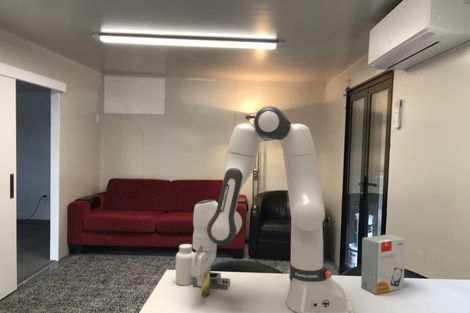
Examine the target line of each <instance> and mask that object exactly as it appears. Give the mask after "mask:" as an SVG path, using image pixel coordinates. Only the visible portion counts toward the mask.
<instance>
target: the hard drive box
mask: <svg viewBox="0 0 470 313" xmlns="http://www.w3.org/2000/svg"><path fill="white" fill-rule="evenodd" d="M361 242H362V243H361V246H362V247H361V279H360V288H362V289H364V290H366V291H368V292H371V293H372V294H374V295H380V294H385V293H389V292H392V291H398V290H400V289H401V290H402V289H405V288H404V286H405V283H404V282H405V253H406V252H405V251H406V238H404V237H401V236H397V235H393V234H390V233H388V234H382V235H375V236H367V237H362V241H361Z"/></svg>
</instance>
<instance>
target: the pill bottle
mask: <svg viewBox="0 0 470 313" xmlns="http://www.w3.org/2000/svg"><path fill="white" fill-rule="evenodd" d="M195 253H196V252H194V251H193V244H191V243H190V244H189V243H183V244H180V245H179V246H178V252H177V253H176V254H175V283H176V285H177V284H178V285H180V286H188V285H193V277H192V275H191V267H192V258H193V255H194V254H195Z"/></svg>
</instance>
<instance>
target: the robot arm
mask: <svg viewBox="0 0 470 313" xmlns="http://www.w3.org/2000/svg"><path fill="white" fill-rule="evenodd" d="M276 140H277V141H278V142H279V143H280V144H281V148H282V155H283V161H284V168H285V176H286V184H287V194H288V203H289V209H290V211H289V212H290V217H291V220H290V222H291V223H290V224H291V225H290V228H291V229H290V263H289V266H288V268H289V269H288V277H289V286H288V288H289V289H288V293H287V298H286V300H285V304H286V306H287V308H288V309H290V310H291V311H293V312H295V313H354V307H353V304H352V303H351V301H350V300H349V299H347V296H346V294H345V291H344V289H343V288H342V286H341V285H340V284H339V283H337V282H336V281H335V280H334V279H333V278H332V277H333V276H332V273H331V271H330V269H329V267H328V266H327V265H324V232H323V222H324V221H325V218H326V217H325V216H326V212H325V207H324V201H323V200H324V199H323V194H322V193H323V192H322V188H321V182H320V177H319V176H320V175H319V169H318V162H317V154H316V149H315V142H314V140H313V137H312V133H311V130H310V128H309V127H308V126H307V125H305V124H303V123H291V121H290V120H289V119H288V117H287V116H286V115H285V114H284V112H283V111H282V110H280V109H279V108H277V107H274V106H265V107H262V108H261V109H259V110H258V112H256V114H255V115H254V119H253V123H244V122H243V123H240V124H239V123H238V124H237V125H236V126H234V128H233V131H232V133H231V136H230V139H229V142H228V146H227V149H226V150H227V151H226V154H225V162H224V172H223V180H222V187H221V190H220V194H219V197H218V202H217V201H216V200H214V199H204V200H201V201H198V202H197V203H196V204H195V205H194V209H193V215H192V216H193V218H192V220H193V222H192V223H193V224H192V225H193V234H192V250H194V251H195V252H194V253H195V254H194V255H193V258H192V267H191V275H192V277H196V279H197V285H198V286H202V284H203V280H202V276H203V274H204V273H209V274H210V272H211V268H212V264H213V262H214V261H215V260H216V256H217V246H223V247H224V246H228V245H230V244H231V243H232V242H234V240H235V237H236V236H237V235H238V233H239V232H240V230H241V228H242V226H243V219H242V216H241V214H240V213H239V211H237V206H238V202H239V196H240V193H241V190H242V189H243V186H244V185H245V183H246V182H247V181H248V179H249V178H250V177H251V176H252V173H253V171H254V169H255V165H256V163H257V159H258V158H257V157H258V154H259V147H260V145H262V144H261V143H262V142H268V141H276Z"/></svg>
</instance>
